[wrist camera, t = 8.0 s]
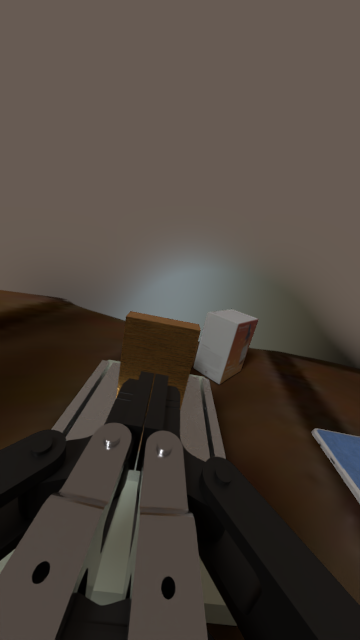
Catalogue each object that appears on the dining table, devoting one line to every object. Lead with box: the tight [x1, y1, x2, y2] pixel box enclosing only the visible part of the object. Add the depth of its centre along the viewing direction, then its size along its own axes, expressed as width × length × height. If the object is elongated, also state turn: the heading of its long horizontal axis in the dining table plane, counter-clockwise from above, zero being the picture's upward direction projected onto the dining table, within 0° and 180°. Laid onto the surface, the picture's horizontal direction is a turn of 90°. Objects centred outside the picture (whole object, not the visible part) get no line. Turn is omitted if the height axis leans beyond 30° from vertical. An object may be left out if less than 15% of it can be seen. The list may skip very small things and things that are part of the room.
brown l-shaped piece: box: [116, 311, 201, 415], centre depth 21 cm, size 13×5×8 cm, turn 179°
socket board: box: [0, 360, 237, 626], centre depth 19 cm, size 20×14×8 cm
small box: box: [193, 309, 258, 384], centre depth 34 cm, size 8×6×10 cm
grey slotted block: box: [51, 360, 226, 482], centre depth 19 cm, size 10×12×3 cm
